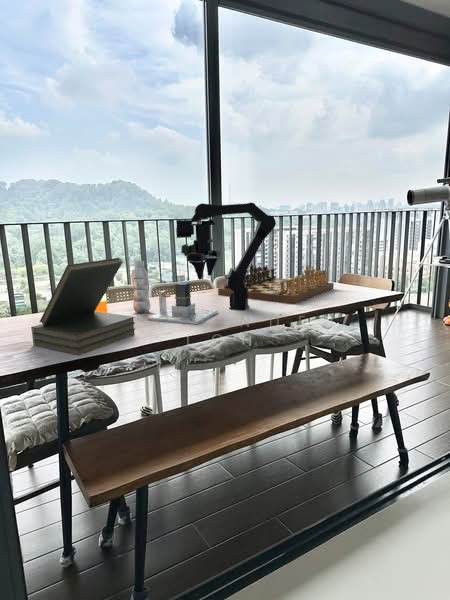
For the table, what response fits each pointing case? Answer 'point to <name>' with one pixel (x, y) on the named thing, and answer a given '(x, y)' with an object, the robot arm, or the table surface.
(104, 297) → the orange juice
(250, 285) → the chess set
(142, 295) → the plastic bottle
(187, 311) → the base
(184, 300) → the block
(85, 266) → the bible
